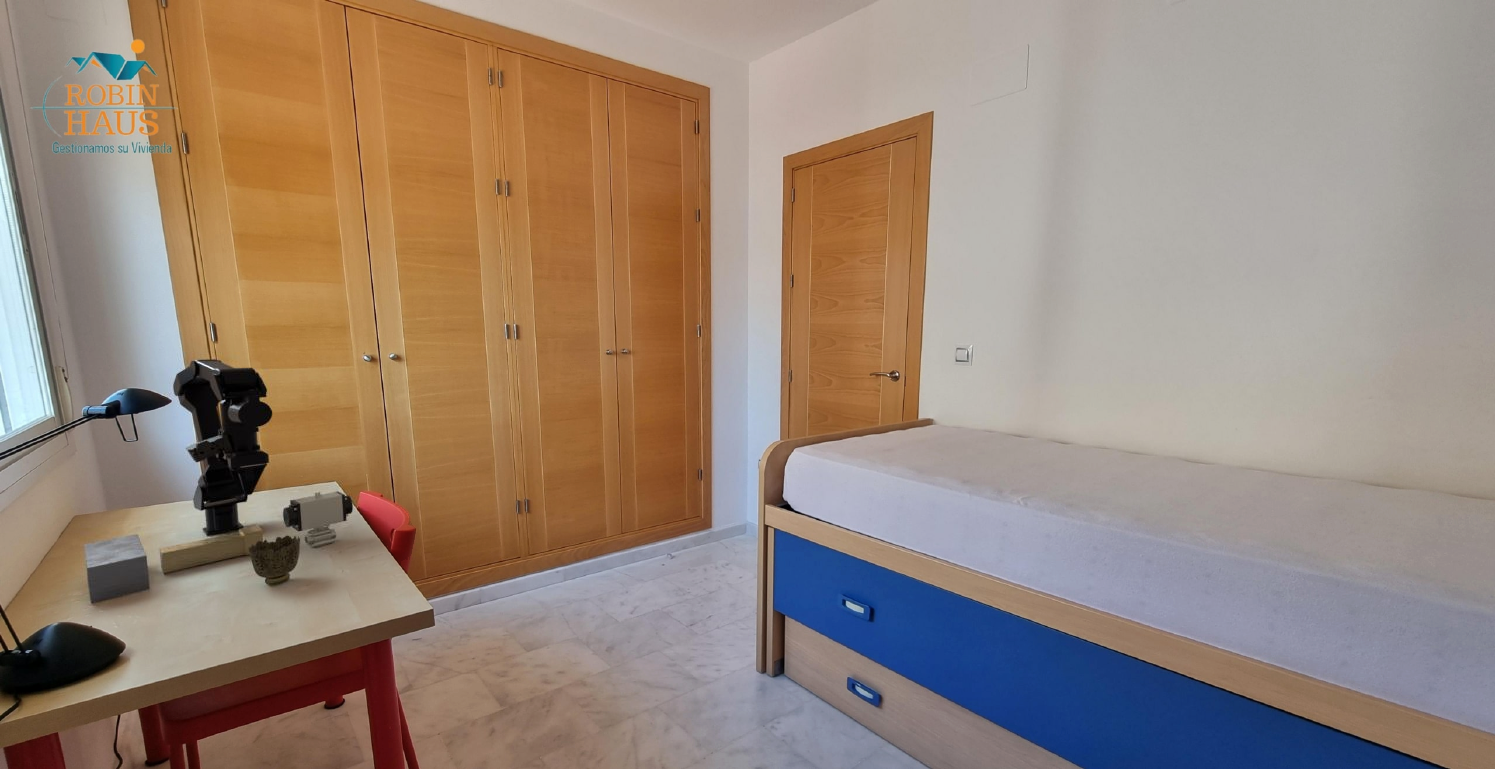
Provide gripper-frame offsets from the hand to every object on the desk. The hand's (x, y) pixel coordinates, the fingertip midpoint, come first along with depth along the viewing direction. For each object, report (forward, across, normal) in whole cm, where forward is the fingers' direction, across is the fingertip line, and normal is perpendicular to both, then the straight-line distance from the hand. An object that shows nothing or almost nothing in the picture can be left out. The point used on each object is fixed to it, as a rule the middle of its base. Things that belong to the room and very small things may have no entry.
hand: (244, 491), depth 123 cm
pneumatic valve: (+12, +14, +10) cm, 21 cm away
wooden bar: (+12, +8, -7) cm, 16 cm away
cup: (+12, +32, -1) cm, 34 cm away
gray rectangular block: (+12, +8, -20) cm, 25 cm away
